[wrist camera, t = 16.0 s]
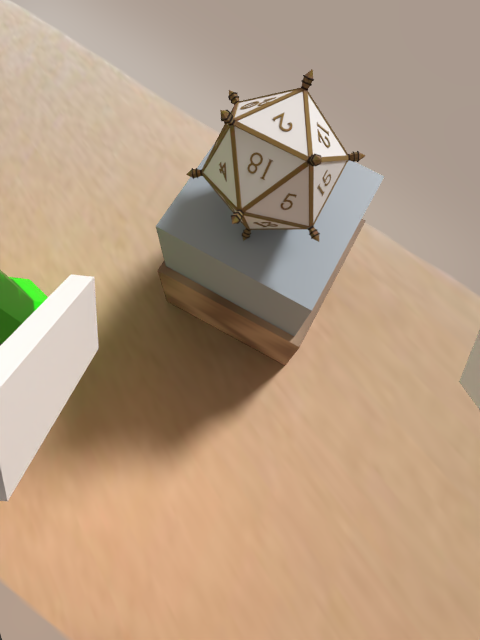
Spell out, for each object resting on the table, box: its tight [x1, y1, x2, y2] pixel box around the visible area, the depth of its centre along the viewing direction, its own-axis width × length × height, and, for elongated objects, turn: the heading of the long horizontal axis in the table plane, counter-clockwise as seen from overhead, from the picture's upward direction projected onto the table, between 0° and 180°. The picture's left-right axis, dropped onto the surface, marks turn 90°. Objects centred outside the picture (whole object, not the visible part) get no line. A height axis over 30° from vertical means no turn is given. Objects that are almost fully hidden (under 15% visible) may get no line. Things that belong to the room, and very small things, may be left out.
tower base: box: [158, 219, 365, 365], centre depth 38 cm, size 12×12×7 cm
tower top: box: [156, 145, 384, 337], centre depth 31 cm, size 11×11×6 cm
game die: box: [186, 70, 365, 242], centre depth 25 cm, size 9×8×10 cm
